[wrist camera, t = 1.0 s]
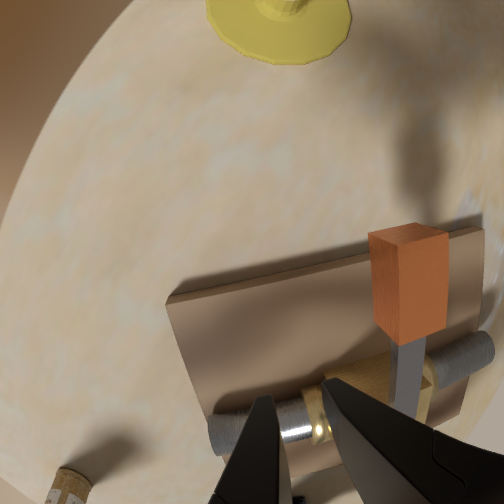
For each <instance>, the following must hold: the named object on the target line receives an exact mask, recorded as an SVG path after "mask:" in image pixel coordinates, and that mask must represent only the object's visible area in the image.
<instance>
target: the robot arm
mask: <svg viewBox="0 0 504 504" xmlns="http://www.w3.org/2000/svg"><path fill="white" fill-rule="evenodd" d="M321 389H322V400H323V407H324V411H325V414H326V417H327V420H328V423H329V426H330V429H331V432H332V435H333V438H334V441H335V444H336V447H337V449H338V452H339V455H340V457H341V459H342V461H343V463H344V465H345V467H346V469H347V471H348V473H349V475H350V477H351V479H352V481H353V483H354V485H355V487H356V489H357V491H358V493H359V495H360V497H361V499H362V501H363V503H364V504H504V455H502V454H498V453H495V452H491V451H487V450H485V449H481V448H478V447H476V446H473V445H470V444H467V443H464V442H462V441H459V440H457V439H455V438H452V437H450V436H448V435H446V434H444V433H442V432H440V431H437V430H434V429H433V428H431V427H429V426H427V425H425V424H423V423H421V422H419V421H417V420H415V419H413V418H411V417H409V416H407V415H405V414H403V413H401V412H400V411H398V410H396V409H394V408H392V407H390V406H388V405H386V404H384V403H383V402H381V401H379V400H377V399H375V398H373V397H371V396H370V395H368V394H366V393H364V392H362V391H361V390H359V389H357V388H355V387H353V386H352V385H350V384H348V383H346V382H344V381H343V380H341V379H339V378H337V377H334V378H330V379H327V380H323V381H322V383H321ZM433 431H434V432H433ZM214 493H215V494H212V496H211V498H210V500H209V503H208V504H306V500H305V497H297V498H293V499H292V492H291V481H290V471H289V465H288V460H287V456H286V451H285V447H284V443H283V438H282V434H281V429H280V425H279V420H278V416H277V412H276V408H275V404H274V400H273V396H272V395H271V394H266V395H261V396H257V397H256V398H255V400H254V403H253V405H252V407H251V410H250V412H249V414H248V417H247V419H246V421H245V424H244V426H243V428H242V431H241V433H240V435H239V438H238V440H237V442H236V444H235V447H234V449H233V451H232V453H231V456H230V458H229V460H228V462H227V465H226V467H225V469H224V471H223V473H222V475H221V478H220V480H219V482H218V484H217V486H216V488H215V490H214Z"/></svg>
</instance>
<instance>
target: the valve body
mask: <svg viewBox="0 0 504 504" xmlns="http://www.w3.org/2000/svg"><path fill="white" fill-rule="evenodd" d="M494 353H495V349H494V344H493V341H492V339H491V337H490V336H489V335H488V334H487V333H486V332H485V331H477V332H475V333H473V334H471V335H469V336H467V337H465V338H463V339H461V340H459V341H457V342H455V343H452V344H450V345H448V346H446V347H444V348H441V349H439V350H437V351H434V352H432V353H430V354H426V353H425V355H424V365H423V373H422V381H421V388H420V395H419V402H418V408H417V413H416V419H415V420H417V421H419V422H421V423H423V424H425V422H426V417H427V413H428V408H429V403H430V402H433V401H434V400H435V399H436V397H437V395H438V391H439V390H441V389H443V388H445V387H447V386H449V385H451V384H453V383H455V382H457V381H459V380H461V379H463V378H465V377H467V376H469V375H470V374H472V373H474V372H476V371H478V370H479V369H481V368H483V367H485V366H486V365H488V364H490V363H491V362H492V360H493V358H494ZM390 356H391V350H388V351H386V352H383V353H380V354H377V355H374V356H371V357H368V358H365V359H361V360H358V361H355V362H352V363H349V364H345V365H342V366H339V367H335V368H332V369H328V370H325V371H322V373H323V380H327V379H330V378H334V377H337V378H339V379H341V380H343V381H344V382H346V383H348V384H350V385H352V386H353V387H355V388H357V389H359V390H361V391H362V392H364V393H366V394H368V395H370V396H371V397H373V398H375V399H377V400H379V401H381V402H383V403H384V404H386V405H388V394H389V378H390ZM300 396H301V397H298V398H294V399H289V400H285V401H281V402H277V403H274V404H275V408H276V412H277V416H278V420H279V425H280V429H281V434H282V438H283V443H284V444H287V443H292V442H296V441H300V440H304V439H308V438H310V439H311V442H312V444H313V445H316V444H319V443H323V442H327V441H330V440H333V439H334V438H333V435H332V432H331V429H330V426H329V423H328V420H327V417H326V414H325V411H324V407H323V400H322V389H321V383H319V384H316V385H312V386H308V387H304V388H300ZM250 410H251V408H248V409H243V410H237V411H231V412H226V413H219V414H213V415H209V416H208V421H207V423H208V433H209V438H210V442H211V446H212V448H213V451H214V453H215V455H216V456H222V455H229V454H231V453H232V451H233V449H234V447H235V444H236V442H237V440H238V438H239V435H240V433H241V431H242V428H243V426H244V424H245V421H246V419H247V417H248V414H249V412H250Z"/></svg>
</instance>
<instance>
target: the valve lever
mask: <svg viewBox="0 0 504 504" xmlns="http://www.w3.org/2000/svg"><path fill="white" fill-rule="evenodd" d="M368 240H369V250H370V262H371V275H372V290H373V311H374V322H375V323H376V324H377V325H378V326H379V327H380V328H381V329H382V330H383V331H384V332H385V333H386V334H387V335H388V336H389V337H390V338H391V356H390V378H389V394H388V406H390V407H392V408H394V409H396V410H398V411H400V412H401V413H403V414H405V415H407V416H409V417H411V418H413V419H416V413H417V408H418V402H419V395H420V388H421V381H422V373H423V365H424V355H425V345H426V336H427V335H430V334H432V333H435V332H437V331H440V330H442V329H444V328H446V318H447V304H448V283H449V234H448V232H445V231H441V230H438V229H435V228H432V227H428V226H425V225H422V224H418V223H410V224H406V225H401V226H397V227H392V228H388V229H383V230H379V231H374V232H370V233H368Z"/></svg>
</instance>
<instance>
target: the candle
mask: <svg viewBox="0 0 504 504" xmlns="http://www.w3.org/2000/svg"><path fill="white" fill-rule="evenodd" d="M206 6H207V19H208V20H209V22H210V23H211V25H212V26H213V28H214V29H215V31H216V33H217V34H218V36H219V37H220V39H221V40H223V41H224V42H226V43H227V44H228V45H230V46H231V47H233V48H234V49H236V50H237V51H239V52H240V53H241V54H243V55H244V56H247V57H251V58H254V59H257V60H261V61H264V62H267V63H270V64H273V65H305V64H308V63H310V62H313V61H316V60H319V59H321V58H324V57H327V56H329V55H330V54H331V53H332V52H333V51H334V50H335V49H336V48H337V47H338V46H339V45H340V44H341V43H342V42H343V41H344V40H345V39H346V37H347V34H348V30H349V26H350V22H351V15H350V10H349V6H348V2H347V0H206Z"/></svg>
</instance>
